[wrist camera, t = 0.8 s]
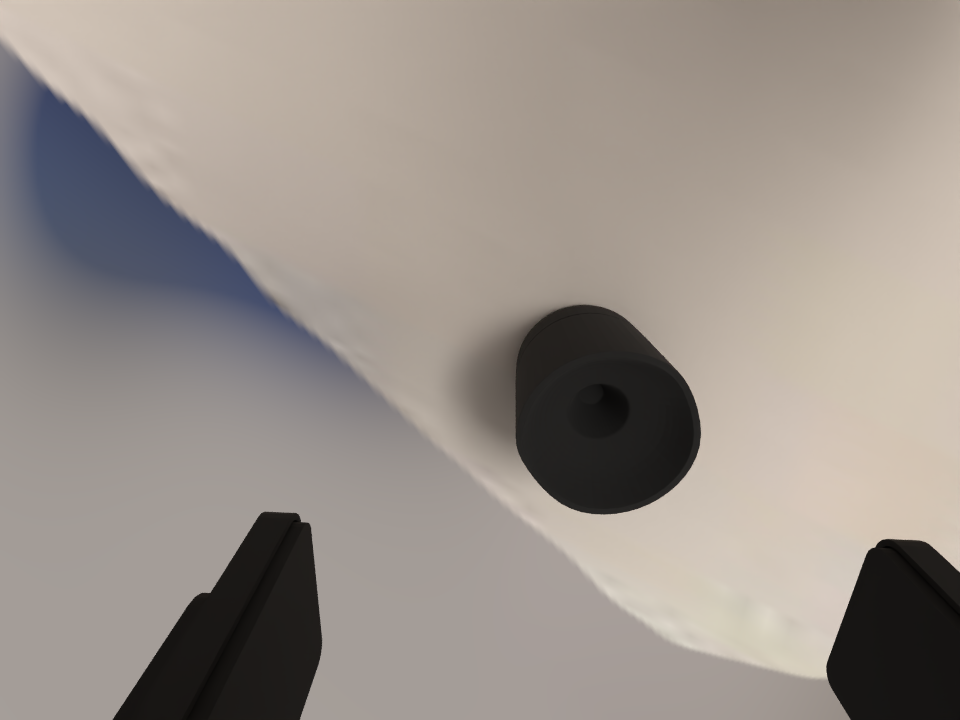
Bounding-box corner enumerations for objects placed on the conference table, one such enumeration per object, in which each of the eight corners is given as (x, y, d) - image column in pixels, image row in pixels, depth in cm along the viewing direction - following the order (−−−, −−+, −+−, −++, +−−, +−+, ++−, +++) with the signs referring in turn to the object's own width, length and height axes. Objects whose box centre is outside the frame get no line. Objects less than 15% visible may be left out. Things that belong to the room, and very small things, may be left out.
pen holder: (499, 415, 39) (501, 500, 30) (524, 286, 36) (536, 336, 26) (629, 435, 39) (672, 526, 30) (667, 309, 36) (728, 368, 27)
